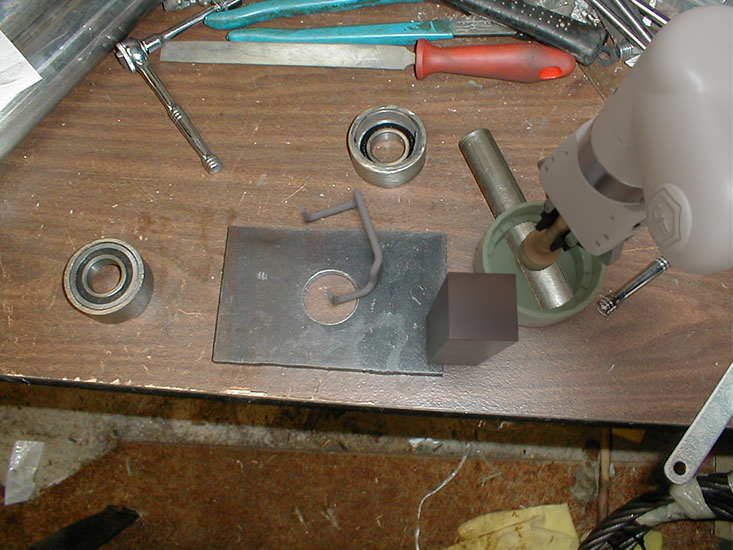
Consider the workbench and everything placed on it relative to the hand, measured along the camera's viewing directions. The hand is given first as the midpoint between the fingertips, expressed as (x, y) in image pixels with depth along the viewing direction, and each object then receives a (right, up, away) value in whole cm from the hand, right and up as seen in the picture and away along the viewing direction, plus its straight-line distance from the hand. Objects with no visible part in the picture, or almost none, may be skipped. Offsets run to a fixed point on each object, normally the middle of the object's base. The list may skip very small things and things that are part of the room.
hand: (555, 233), depth 60 cm
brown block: (-10, -13, +7) cm, 18 cm away
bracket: (-24, -2, +11) cm, 26 cm away
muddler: (0, -2, +7) cm, 8 cm away
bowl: (0, -4, +9) cm, 10 cm away
